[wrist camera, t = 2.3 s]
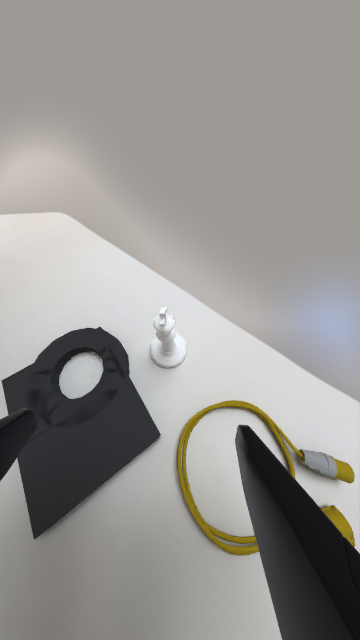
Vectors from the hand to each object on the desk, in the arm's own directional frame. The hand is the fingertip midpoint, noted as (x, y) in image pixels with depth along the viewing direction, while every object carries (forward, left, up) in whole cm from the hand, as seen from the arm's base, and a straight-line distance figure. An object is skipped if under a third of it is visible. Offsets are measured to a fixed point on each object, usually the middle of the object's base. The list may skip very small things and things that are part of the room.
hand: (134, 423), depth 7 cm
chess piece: (+6, -5, -13) cm, 15 cm away
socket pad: (+6, +7, -13) cm, 16 cm away
